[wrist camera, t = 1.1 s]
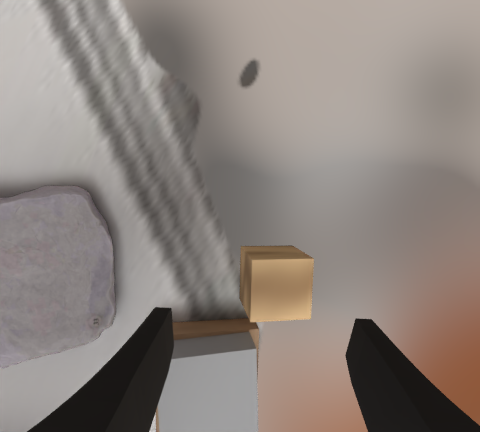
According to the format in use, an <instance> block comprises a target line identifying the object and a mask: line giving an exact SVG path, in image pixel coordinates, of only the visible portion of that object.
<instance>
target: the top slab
mask: <svg viewBox="0 0 480 432" xmlns="http://www.w3.org/2000/svg"><path fill="white" fill-rule="evenodd" d="M257 398H258V397H257V350H256V346H255V344H254V342H253V339H252V337H251V334H250V332H241V333H232V334H224V335H215V336H206V337H197V338H188V339H180V340H174V349H173V354H172V359H171V363H170V368H169V372H168V375H167V379H166V382H165V385H164V388H163V391H162V394H161V397H160V400H159V403H158V417H159V432H258V399H257Z"/></svg>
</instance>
